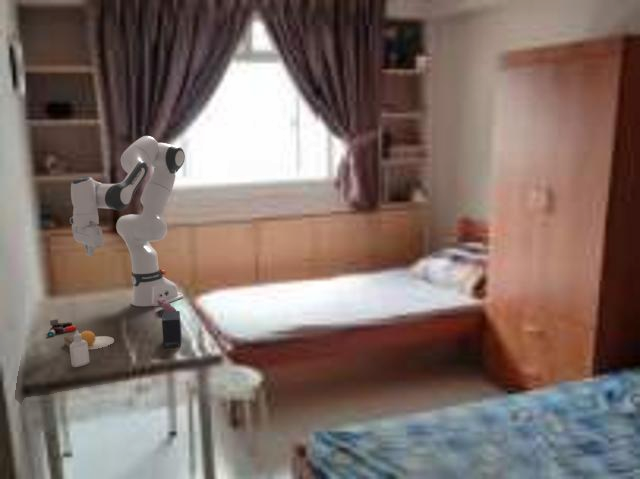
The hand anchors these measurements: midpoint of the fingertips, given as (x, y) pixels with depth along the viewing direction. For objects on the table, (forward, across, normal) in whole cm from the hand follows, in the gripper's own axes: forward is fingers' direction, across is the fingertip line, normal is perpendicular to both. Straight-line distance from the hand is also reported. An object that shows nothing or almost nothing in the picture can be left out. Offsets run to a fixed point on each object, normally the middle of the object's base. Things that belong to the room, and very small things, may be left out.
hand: (90, 255), depth 242 cm
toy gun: (+30, +6, +12) cm, 33 cm away
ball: (+26, -17, +11) cm, 33 cm away
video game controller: (+29, -2, -29) cm, 41 cm away
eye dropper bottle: (+29, -32, +20) cm, 48 cm away
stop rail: (+29, -16, +15) cm, 37 cm away
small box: (+29, -37, -12) cm, 49 cm away
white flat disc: (+29, -16, +8) cm, 34 cm away
